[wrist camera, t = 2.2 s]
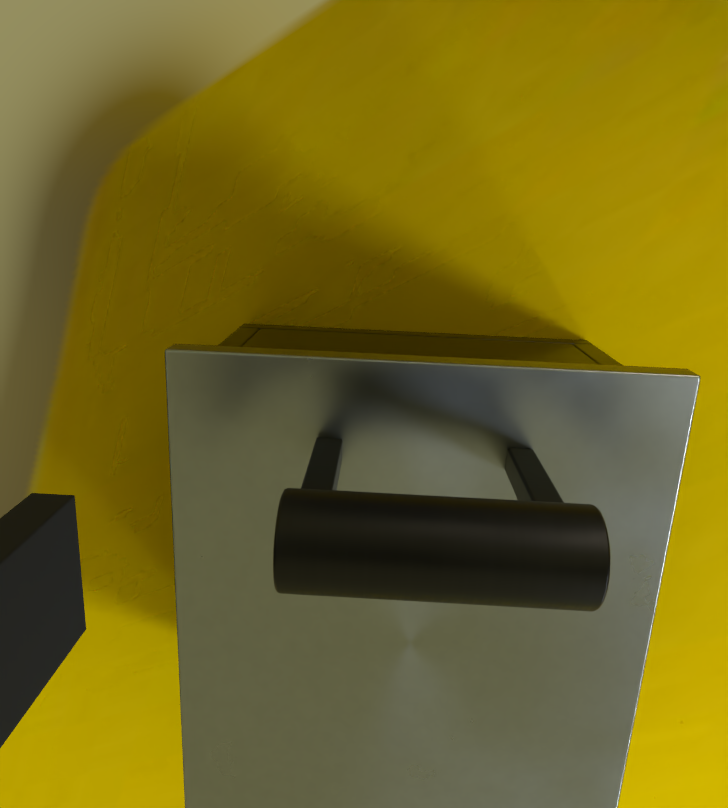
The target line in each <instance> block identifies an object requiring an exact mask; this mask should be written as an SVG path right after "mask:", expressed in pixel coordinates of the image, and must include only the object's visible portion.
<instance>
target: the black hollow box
mask: <svg viewBox="0 0 728 808" xmlns="http://www.w3.org/2000/svg"><path fill="white" fill-rule="evenodd" d="M218 346H232V347H252V348H273V349H293V350H313V351H333V352H354V353H374V354H394V355H415V356H435V357H455V358H476V359H496V360H516V361H537V362H557V363H577V364H598V365H618V366H623V365H622V364H620V363H619V362H617V361H616V360H614V359H613V358H611V357H610V356H609V355H607V354H606V353H604V352H603V351H601V350H600V349H598V348H597V347H596V346H594V345H593V344H591V343H590V342H588V341H587V340H570V339H549V338H528V337H508V336H487V335H466V334H446V333H425V332H404V331H384V330H363V329H342V328H322V327H301V326H281V325H260V324H243V325H242V326H241V327H240V328H239V329H237V330H236V331H235V332H234V333H233V334H231V335H230V336H229V337H228V338H226V339H225V340H224V341H223V342H222V343H220V344H219V345H218Z"/></svg>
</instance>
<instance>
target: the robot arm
mask: <svg viewBox="0 0 728 808" xmlns="http://www.w3.org/2000/svg"><path fill="white" fill-rule="evenodd" d="M85 630H86V624H85V612H84V601H83V589H82V578H81V566H80V554H79V543H78V531H77V520H76V508H75V497H74V495H57V494H38V493H32V494H30V495H29V496H28V497H27V498H25V499H24V500H23V501H22V502H20V503H19V504H18V505H17V506H15V507H14V508H13V509H12V510H10V511H9V512H8V513H7V514H5V515H4V516H3V517H2V518H0V748H1V746H2V745H3V744H4V742H5V741H6V740H7V738H8V737H9V735H10V734H11V733H12V731H13V730H14V728H15V727H16V726H17V724H18V723H19V721H20V720H21V719H22V717H23V716H24V714H25V713H26V712H27V710H28V709H29V708H30V706H31V705H32V703H33V702H34V701H35V699H36V698H37V696H38V695H39V694H40V692H41V691H42V689H43V688H44V687H45V685H46V684H47V683H48V681H49V680H50V678H51V677H52V676H53V674H54V673H55V671H56V670H57V669H58V667H59V666H60V664H61V663H62V662H63V660H64V659H65V657H66V656H67V655H68V653H69V652H70V651H71V649H72V648H73V646H74V645H75V644H76V642H77V641H78V639H79V638H80V637H81V635H82V634H83V632H84V631H85Z"/></svg>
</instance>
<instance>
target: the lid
mask: <svg viewBox="0 0 728 808" xmlns="http://www.w3.org/2000/svg"><path fill="white" fill-rule="evenodd" d="M165 365H166V388H167V410H168V433H169V455H170V478H171V500H172V523H173V545H174V568H175V590H176V613H177V635H178V658H179V680H180V702H181V725H182V747H183V770H184V792H185V808H617V807H618V802H619V797H620V792H621V787H622V781H623V776H624V771H625V766H626V761H627V756H628V750H629V745H630V740H631V735H632V730H633V724H634V719H635V714H636V709H637V704H638V699H639V693H640V688H641V683H642V678H643V673H644V667H645V662H646V657H647V652H648V647H649V642H650V636H651V631H652V626H653V621H654V616H655V610H656V605H657V600H658V595H659V590H660V585H661V579H662V574H663V569H664V564H665V559H666V554H667V548H668V543H669V538H670V533H671V528H672V522H673V517H674V512H675V507H676V502H677V497H678V491H679V486H680V481H681V476H682V471H683V465H684V460H685V455H686V450H687V445H688V440H689V434H690V429H691V424H692V419H693V414H694V408H695V403H696V398H697V393H698V388H699V383H700V376H699V375H697V374H695V373H694V372H692V371H690V370H688V369H679V368H658V367H638V366H618V365H598V364H577V363H557V362H537V361H516V360H496V359H476V358H455V357H435V356H415V355H394V354H374V353H354V352H333V351H313V350H293V349H273V348H252V347H232V346H212V345H191V344H173V345H172V346H170V347H169V348H167V349H166V350H165Z"/></svg>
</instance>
